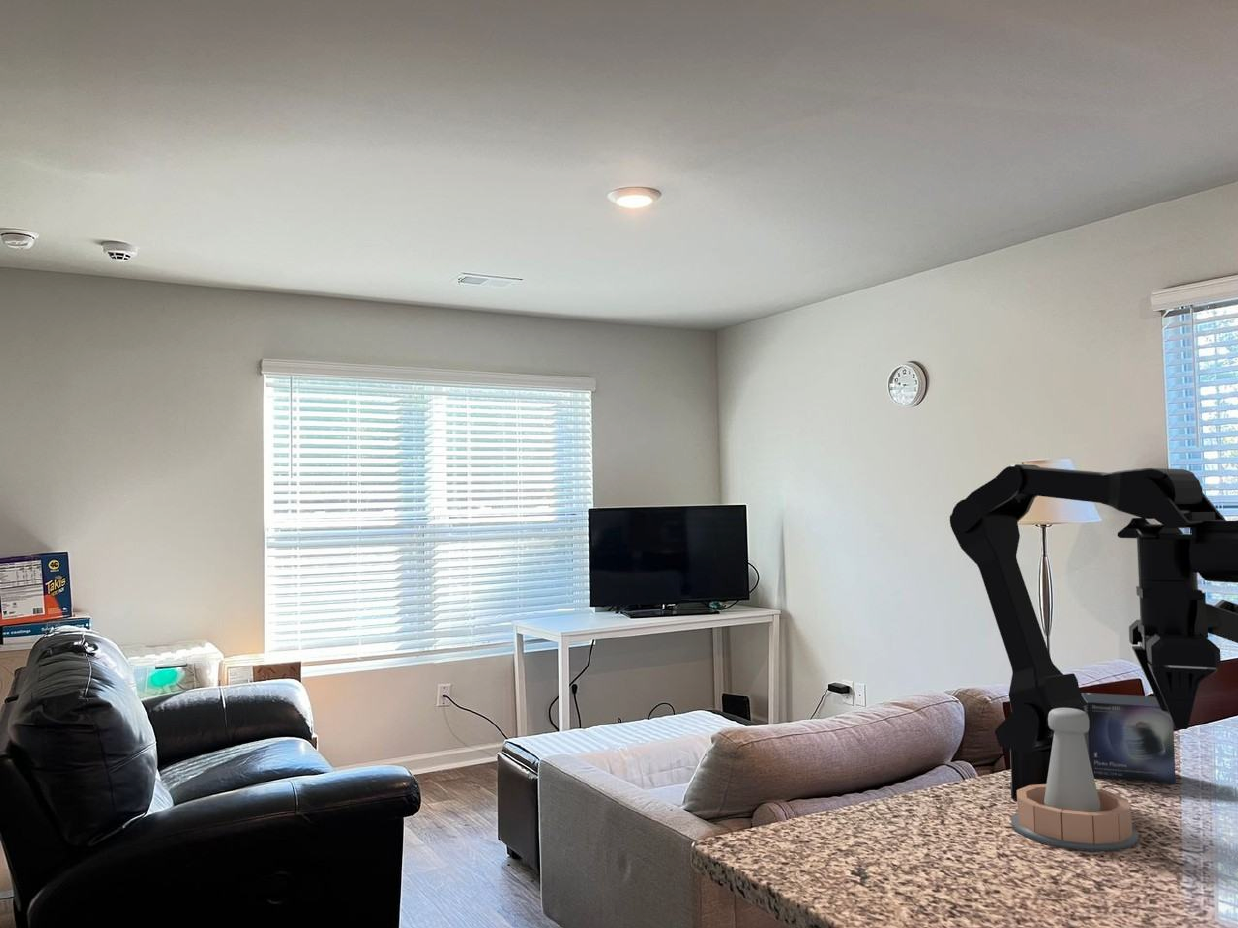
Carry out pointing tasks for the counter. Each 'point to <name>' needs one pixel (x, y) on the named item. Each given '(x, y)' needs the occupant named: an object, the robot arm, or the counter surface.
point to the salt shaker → (1070, 763)
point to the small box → (1129, 738)
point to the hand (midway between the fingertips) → (1174, 719)
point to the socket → (1075, 822)
